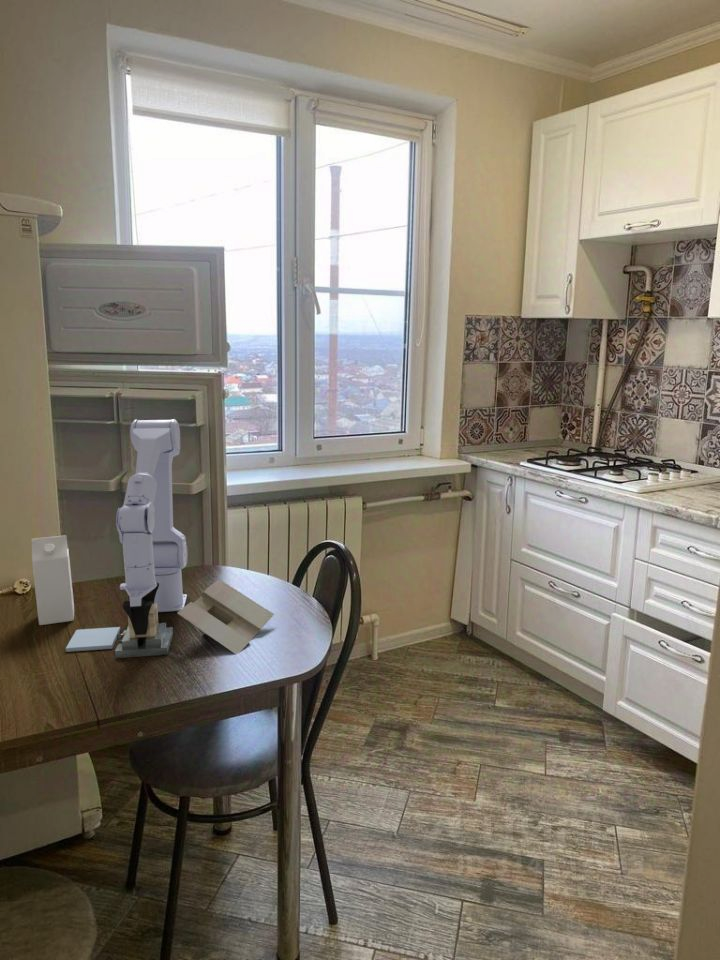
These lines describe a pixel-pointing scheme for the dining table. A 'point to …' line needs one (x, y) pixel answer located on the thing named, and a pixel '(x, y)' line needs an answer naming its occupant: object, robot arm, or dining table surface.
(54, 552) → the milk carton
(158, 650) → the vise
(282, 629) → the dining table surface
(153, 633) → the wooden cube
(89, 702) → the dining table surface
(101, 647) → the mat
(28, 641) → the dining table surface
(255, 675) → the dining table surface
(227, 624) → the beige slotted board
